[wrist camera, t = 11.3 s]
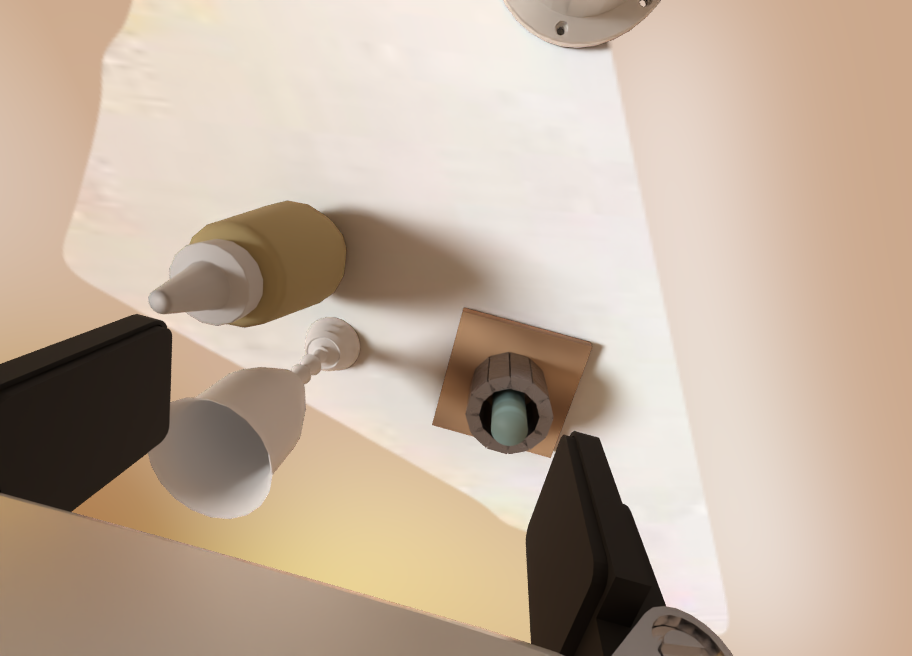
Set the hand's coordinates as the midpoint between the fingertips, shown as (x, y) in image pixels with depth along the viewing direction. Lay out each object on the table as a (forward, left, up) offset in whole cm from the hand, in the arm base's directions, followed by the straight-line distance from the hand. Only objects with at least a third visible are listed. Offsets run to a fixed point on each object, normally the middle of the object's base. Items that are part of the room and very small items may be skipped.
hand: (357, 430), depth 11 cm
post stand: (+10, +7, -28) cm, 30 cm away
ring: (+10, +7, -27) cm, 29 cm away
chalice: (+11, -9, -28) cm, 32 cm away
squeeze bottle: (+3, -12, -28) cm, 31 cm away
